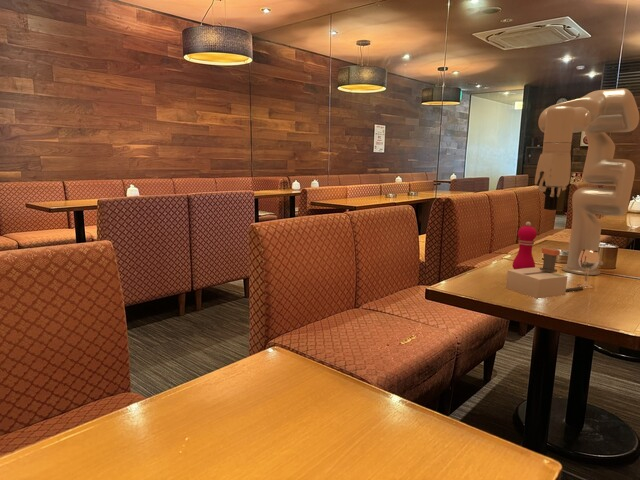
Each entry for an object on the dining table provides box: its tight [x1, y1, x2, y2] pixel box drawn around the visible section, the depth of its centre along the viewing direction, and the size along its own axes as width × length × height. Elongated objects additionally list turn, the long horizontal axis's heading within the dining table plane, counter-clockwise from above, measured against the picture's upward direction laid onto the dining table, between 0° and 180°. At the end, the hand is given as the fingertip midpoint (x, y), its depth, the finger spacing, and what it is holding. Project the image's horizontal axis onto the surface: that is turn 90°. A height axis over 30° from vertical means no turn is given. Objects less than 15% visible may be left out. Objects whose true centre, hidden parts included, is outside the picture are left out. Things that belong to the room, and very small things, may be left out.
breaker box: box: [505, 266, 584, 300], centre depth 143 cm, size 22×12×6 cm, turn 114°
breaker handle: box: [539, 247, 561, 273], centre depth 141 cm, size 3×4×7 cm
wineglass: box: [577, 250, 600, 289], centre depth 148 cm, size 6×6×12 cm
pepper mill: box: [511, 221, 538, 269], centre depth 156 cm, size 7×7×20 cm
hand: (550, 209), depth 139 cm, fingers closed
